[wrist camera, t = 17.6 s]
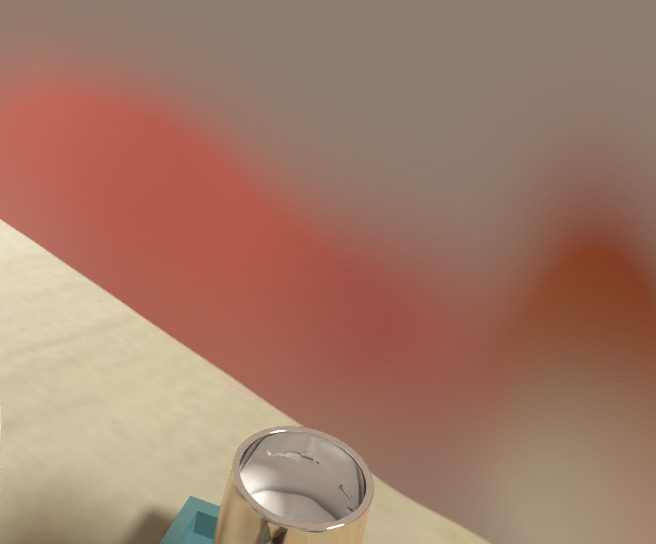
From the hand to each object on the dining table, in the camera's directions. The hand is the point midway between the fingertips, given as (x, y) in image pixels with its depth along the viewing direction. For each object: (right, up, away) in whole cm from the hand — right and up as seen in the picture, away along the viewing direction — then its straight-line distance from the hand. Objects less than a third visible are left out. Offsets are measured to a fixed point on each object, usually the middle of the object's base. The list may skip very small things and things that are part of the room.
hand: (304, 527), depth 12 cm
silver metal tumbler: (-4, -18, +20) cm, 27 cm away
